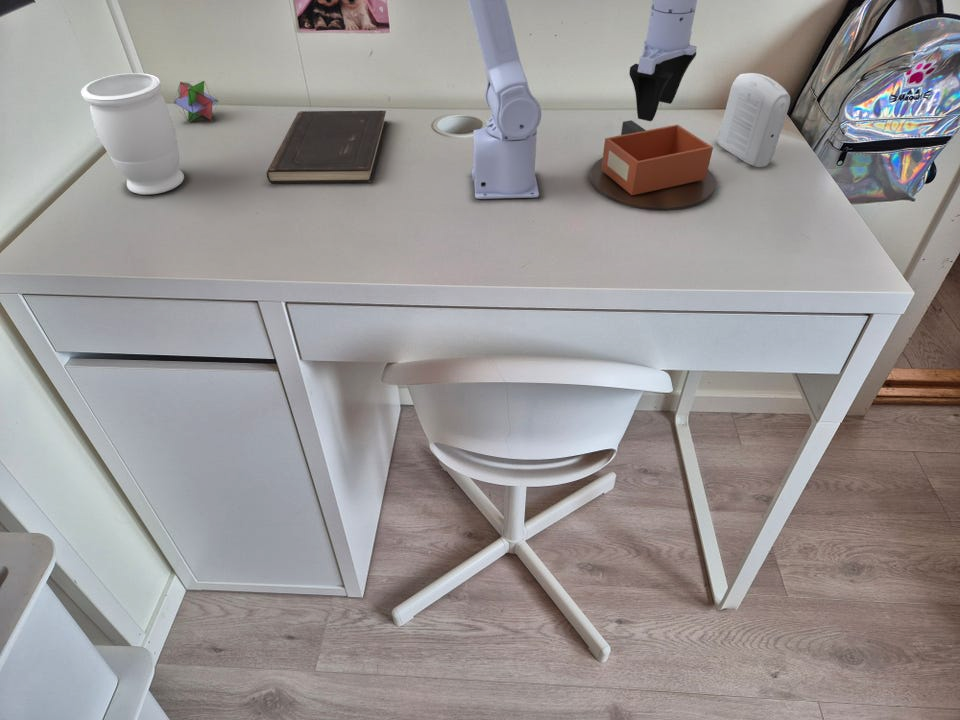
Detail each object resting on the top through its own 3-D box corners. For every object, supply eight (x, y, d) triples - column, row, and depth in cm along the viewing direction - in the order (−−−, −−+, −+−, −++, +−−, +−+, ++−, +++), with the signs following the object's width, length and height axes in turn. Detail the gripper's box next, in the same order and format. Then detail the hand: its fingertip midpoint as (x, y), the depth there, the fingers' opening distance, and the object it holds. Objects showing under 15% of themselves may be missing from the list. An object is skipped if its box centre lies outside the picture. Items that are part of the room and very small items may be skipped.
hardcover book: (387, 123, 118) (385, 110, 117) (371, 182, 101) (369, 169, 100) (298, 123, 118) (296, 111, 117) (268, 183, 101) (265, 170, 100)
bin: (631, 195, 96) (636, 163, 92) (586, 158, 105) (590, 127, 101) (705, 179, 99) (713, 147, 96) (656, 144, 108) (662, 114, 105)
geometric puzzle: (233, 104, 120) (202, 64, 117) (208, 118, 115) (175, 77, 112) (214, 123, 124) (184, 85, 121) (190, 137, 120) (157, 98, 117)
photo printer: (775, 165, 105) (800, 86, 96) (753, 170, 103) (777, 90, 95) (733, 140, 112) (753, 64, 103) (712, 144, 110) (731, 68, 102)
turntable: (601, 212, 94) (601, 208, 94) (581, 154, 108) (581, 150, 108) (732, 209, 94) (733, 205, 94) (695, 151, 108) (696, 148, 108)
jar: (204, 182, 102) (173, 83, 92) (140, 206, 96) (99, 104, 86) (170, 161, 107) (137, 66, 97) (108, 183, 102) (67, 85, 92)
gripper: (683, 26, 80) (663, 133, 89) (720, -1, 89) (698, 99, 98) (629, 17, 83) (615, 122, 92) (670, -8, 92) (654, 90, 101)
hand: (655, 110), depth 96 cm, fingers open, 7 cm apart
